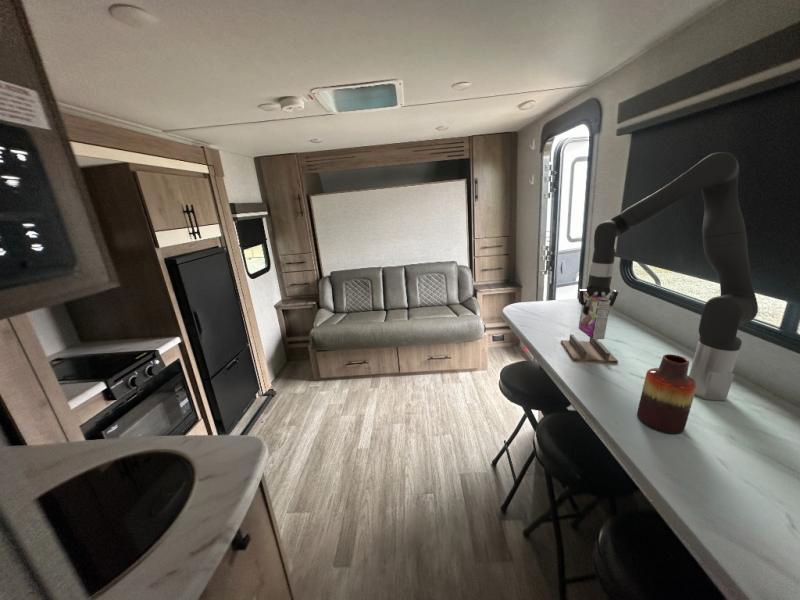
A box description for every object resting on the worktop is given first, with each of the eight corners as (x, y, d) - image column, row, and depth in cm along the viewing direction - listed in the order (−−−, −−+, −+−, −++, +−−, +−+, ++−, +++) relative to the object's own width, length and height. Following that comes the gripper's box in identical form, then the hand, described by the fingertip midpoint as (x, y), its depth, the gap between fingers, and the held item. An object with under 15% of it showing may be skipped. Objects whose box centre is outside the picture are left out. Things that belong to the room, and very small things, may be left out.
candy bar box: (577, 328, 136) (583, 291, 131) (589, 328, 136) (595, 291, 131) (591, 339, 125) (598, 300, 120) (604, 339, 125) (611, 300, 120)
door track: (600, 344, 139) (601, 335, 138) (617, 363, 124) (619, 353, 122) (560, 342, 142) (562, 334, 141) (572, 360, 127) (574, 351, 125)
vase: (636, 405, 99) (650, 346, 93) (682, 418, 93) (699, 355, 87) (636, 425, 91) (651, 361, 85) (686, 440, 85) (706, 373, 79)
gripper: (583, 275, 121) (577, 317, 126) (626, 276, 118) (617, 319, 123) (577, 271, 128) (571, 311, 133) (617, 271, 125) (609, 312, 130)
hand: (593, 314), depth 128 cm, fingers closed on candy bar box, 5 cm apart
